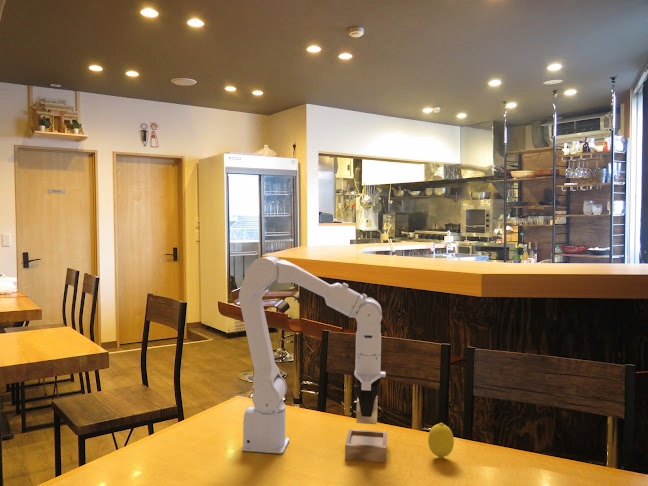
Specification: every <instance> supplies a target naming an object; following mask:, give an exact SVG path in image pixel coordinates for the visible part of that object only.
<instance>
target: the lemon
mask: <svg viewBox="0 0 648 486" xmlns="http://www.w3.org/2000/svg"><path fill="white" fill-rule="evenodd" d="M427 441H428V442H427V443H428V446H429V447H428V448H429V450H430V451H431V453H432V454H434V455H435V456H436V457H438V458H439V459H443V458H444V457H447V456H449V455H450V454H451V453H452V451H453V449H454V441H455V440H454V434H453V431H452V429H451V428H450V427H449V426H447V425H446V424H444V423H443V422H439V423H437V424H435V425H433V426H432V427H431V429H430V431H429V433H428V437H427Z"/></svg>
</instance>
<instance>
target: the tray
mask: <svg viewBox="0 0 648 486" xmlns="http://www.w3.org/2000/svg"><path fill="white" fill-rule="evenodd" d="M387 434H388V431H382V430H381V431H378V430H367V429H365V430H364V429H351V428H349V429H348V430H347V436H346V440H345V445H344V460H351V461H359V462H360V461H361V462H374V463H376V462H377V463H387V447H388V445H387V443H388V442H387V441H388V440H387V439H388V436H387Z"/></svg>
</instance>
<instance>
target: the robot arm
mask: <svg viewBox="0 0 648 486" xmlns="http://www.w3.org/2000/svg"><path fill="white" fill-rule="evenodd" d="M275 283H277V284H287V283H293V284H295V285H297V286H300V287H302V288H304V289H306V290H308V291H310V292H313V293H314V294H316V295H318V296H321V297H322V298H323V299H324V301H325V305H326V306H327V307H329V308H332V309H334V310H335V311H337V312H340V313H341V314H343V315H345V316H347V317H349V318H354V319H355V321H356V323H357V324H356V328H357V329H356V332H355V360H354V361H355V367H354V368H355V369H354V374H353V375H354V376H355V380H356V381H357V383H354V385H353V388H354V389H353V390H354V391H355V392H354V393H356V396H357V398H358V399H359V404H360V410H361V414H362V416H363V417H371V416H372V412H373V406H374V401H375V398H376V396H378V393H379V391H380V389H381V386H379V384H380V382H381V379H382V378H385V377H386V375H387V373H386V371H381V365H382V364H381V363H382V360H381V359H382V356H381V355H382V333H381V330H382V329H381V328H382V325H381V323H382V322H381V321H382V320H383V314H382V313H383V312H382V311H383V310H382V307H381V304H380V303H379V302H378V301H377V300H376V299H374V298H373V297H368V295H367V294H365V293H362V294H361V293H359V292H357V291H355V290H354V289H351V288H349V284H348V283H345V282H343V283H340V282H335V283H332V284H330V283H328V282H326V281H324V280H322V279H321V278H319V277H317V276H316V275H315V274H312V273H310V272H309V271H307V270H305V269H304V268H302V267H300V266H298V265H296V264H294V263H292V262H290V261H288V260H286V259H281V258H279V257H278V256H276V255H266V256H264V257H260V258H257V259H255V260H253V262H252V263H251V264H250V265H249V266H248V267H247V269H245V273H244V277H243V281H242V284H241V286H240V289H239V292H238V299H239V305H240V310H241V314H242V319H243V323H244V328H245V329H244V330H245V332H246V337H247V343H248V348H249V352H250V356H251V362H252V367H253V376H252V377H253V378H252V385H253V393H252V397H251V399H252V404H253V406H247V407H246V408H245V411H244V415H243V421H242V423H243V424H242V428H243V429H242V433H243V434H242V449H241V450H242V452H255V453H266V454H267V453H268V454H269V453H270V454H280V455H281V454H284V452H285V451H286V448H287V446H288V444H289V442H290V437H286V404H285V402H284V400H283V397H284V396H285V395H286V393H287V390H288V385H287V381H285V379H284V377H282V375H281V372H280V368H279V367H278V364H276V361H275V356H274V351H273V346H272V341H271V336H270V333H269V327H268V323H267V322H268V321H267V318H266V312H265V308H264V304H263V303H264V302H263V297H264V295H265V294H266V293H267V291H268V290H269V289H270V287H271V286H273V285H274V284H275Z"/></svg>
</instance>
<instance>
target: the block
mask: <svg viewBox="0 0 648 486" xmlns="http://www.w3.org/2000/svg"><path fill="white" fill-rule="evenodd" d="M378 397H379V396H378V395H376V398H375V401H374V406H373V412H372V416H371V417H363V416H362V414H361V410H360V404H359V399H358V397H357V399H356V417H355V418H356V424H364V425H377V422H378V400H379V399H378Z"/></svg>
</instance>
